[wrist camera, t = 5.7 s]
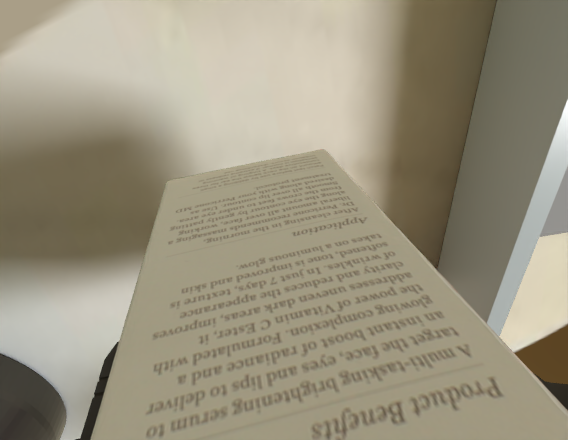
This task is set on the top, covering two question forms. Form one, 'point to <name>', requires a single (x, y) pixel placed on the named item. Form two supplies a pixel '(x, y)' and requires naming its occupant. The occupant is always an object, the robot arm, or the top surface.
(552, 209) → the mat
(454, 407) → the small box
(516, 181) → the low wall
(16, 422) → the robot arm
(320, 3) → the top surface
